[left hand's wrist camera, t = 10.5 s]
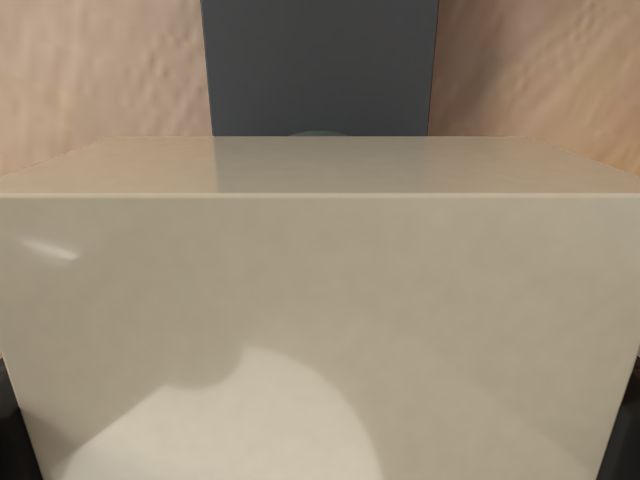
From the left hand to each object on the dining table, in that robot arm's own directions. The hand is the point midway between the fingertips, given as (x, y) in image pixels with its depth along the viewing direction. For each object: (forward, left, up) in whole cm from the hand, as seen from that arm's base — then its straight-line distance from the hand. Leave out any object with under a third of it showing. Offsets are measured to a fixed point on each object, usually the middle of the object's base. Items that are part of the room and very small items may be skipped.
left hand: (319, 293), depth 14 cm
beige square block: (0, 0, +1) cm, 1 cm away
